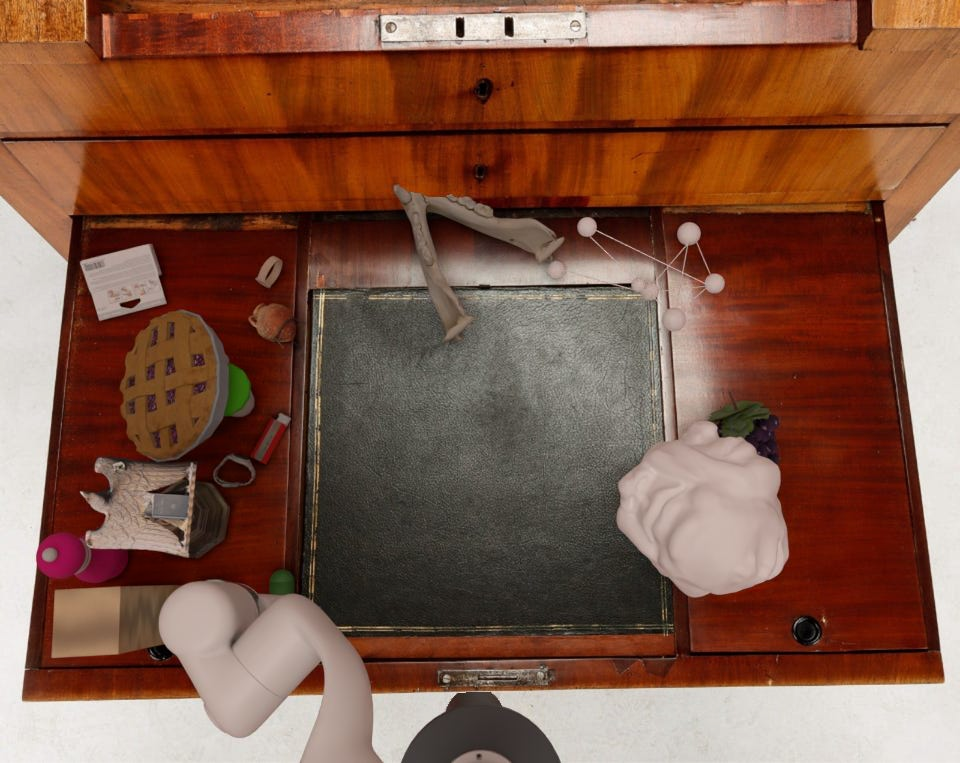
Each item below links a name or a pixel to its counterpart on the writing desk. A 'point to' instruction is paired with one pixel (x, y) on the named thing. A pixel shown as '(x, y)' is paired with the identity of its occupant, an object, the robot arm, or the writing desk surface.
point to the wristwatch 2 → (239, 460)
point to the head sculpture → (706, 512)
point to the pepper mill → (79, 559)
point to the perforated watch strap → (264, 272)
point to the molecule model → (649, 290)
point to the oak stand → (107, 619)
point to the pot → (275, 323)
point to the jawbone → (481, 219)
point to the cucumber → (281, 583)
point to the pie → (174, 386)
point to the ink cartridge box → (124, 281)
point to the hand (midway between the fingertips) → (264, 614)
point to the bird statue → (157, 508)
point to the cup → (238, 393)
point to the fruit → (749, 426)
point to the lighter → (270, 438)
